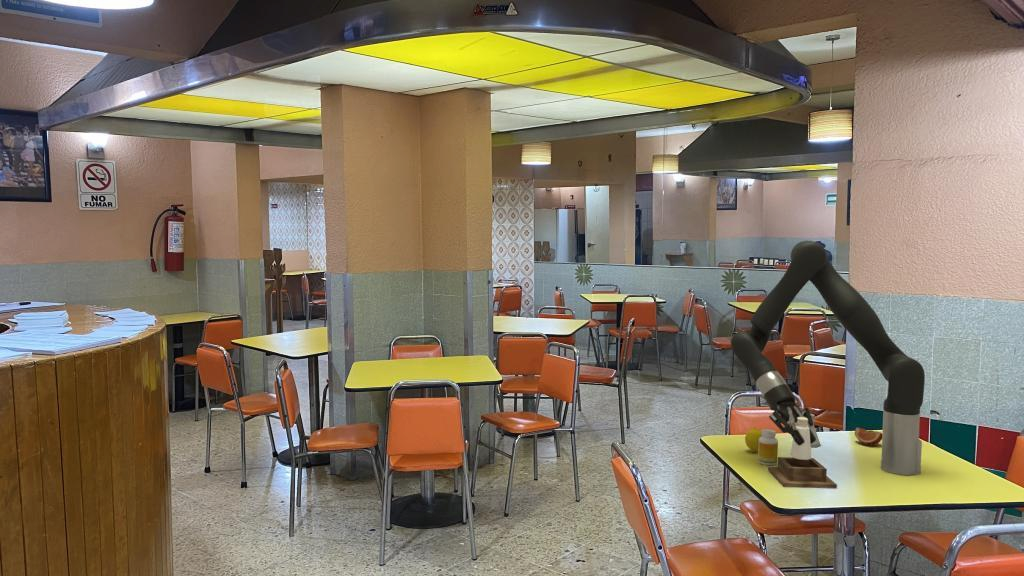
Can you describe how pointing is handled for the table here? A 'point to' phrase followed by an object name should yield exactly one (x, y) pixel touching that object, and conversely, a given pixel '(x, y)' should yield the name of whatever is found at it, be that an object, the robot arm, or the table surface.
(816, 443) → the flask
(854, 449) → the table surface
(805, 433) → the pepper shaker
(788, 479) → the socket cup
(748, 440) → the fruit
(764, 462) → the supplement bottle
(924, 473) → the table surface
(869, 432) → the fruit slice
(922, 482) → the table surface
